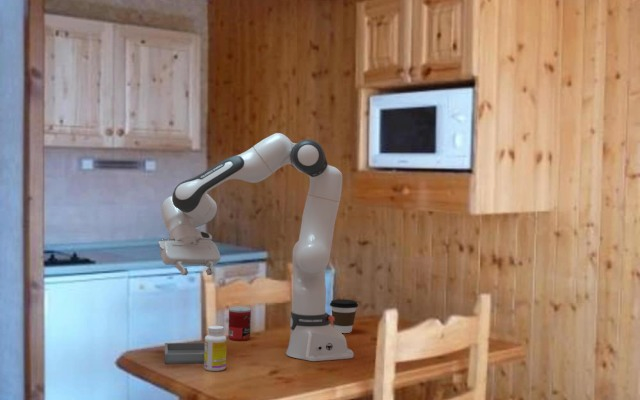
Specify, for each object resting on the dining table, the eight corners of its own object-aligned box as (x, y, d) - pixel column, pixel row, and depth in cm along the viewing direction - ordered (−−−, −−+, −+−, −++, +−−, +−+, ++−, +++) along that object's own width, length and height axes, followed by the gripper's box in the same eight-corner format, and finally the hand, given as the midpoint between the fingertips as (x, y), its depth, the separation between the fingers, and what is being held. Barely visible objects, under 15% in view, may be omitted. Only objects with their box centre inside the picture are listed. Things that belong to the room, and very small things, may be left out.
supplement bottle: (230, 368, 229) (231, 326, 229) (217, 372, 223) (218, 330, 223) (212, 365, 232) (213, 324, 232) (199, 369, 226) (200, 327, 226)
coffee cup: (362, 332, 288) (363, 301, 287) (344, 336, 280) (346, 304, 279) (341, 328, 295) (342, 298, 295) (323, 332, 287) (324, 301, 286)
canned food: (246, 341, 266) (247, 311, 266) (225, 340, 267) (226, 309, 267) (252, 337, 273) (253, 307, 273) (231, 335, 275) (232, 306, 275)
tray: (217, 351, 251) (218, 342, 251) (222, 362, 235) (222, 353, 235) (164, 352, 247) (164, 343, 247) (165, 364, 232) (165, 354, 232)
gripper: (160, 232, 235) (173, 268, 228) (215, 234, 249) (228, 268, 242) (152, 244, 238) (164, 280, 231) (206, 245, 252) (219, 279, 245)
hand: (198, 274), depth 237 cm, fingers open, 8 cm apart
